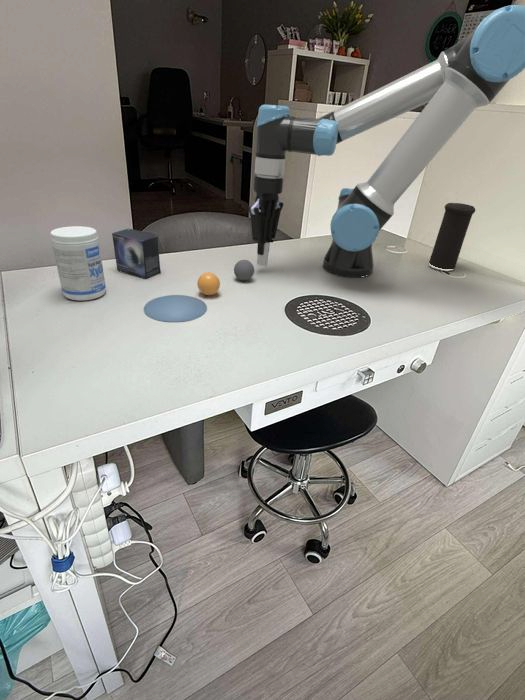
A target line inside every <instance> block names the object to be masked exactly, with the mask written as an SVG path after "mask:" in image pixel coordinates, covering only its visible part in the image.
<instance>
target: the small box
mask: <svg viewBox="0 0 525 700" xmlns="http://www.w3.org/2000/svg"><path fill="white" fill-rule="evenodd" d="M111 236H112V242H113V249H114V257H115V265H116V270H118V272H120V271H121V272H120V273H124V274H128V275H130V276H134V277H137V278H140V279H143V280H147V279H150V278H153V277H155V276H157V275H160V274H161V273H162V271H161V262H160V251H159V250H160V249H159V235H157V234H153V233H150V232H144V231H141V230H137V229H132V228H126V229H122V230H119V231H115V232H112V233H111Z"/></svg>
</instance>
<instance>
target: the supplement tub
mask: <svg viewBox="0 0 525 700" xmlns="http://www.w3.org/2000/svg"><path fill="white" fill-rule="evenodd" d="M50 241H51V245H52V249H53V250H52V251H53V255H54V260H55V264H56V268H57V273H58V278H59V283H60V286H61V291H62V295H63V296H64V297H66V298H67V299H68V300H72V301H89V300H90V301H91V300H94V299H98V298H100V297H102V296H103V295H104V294H105V293H106V292H107V286H106V279H105V278H106V277H105V273H104V267H103V262H102V261H103V259H102V255H101V254H102V253H101V247H100V240H99V235H98V232H97V229H96V228H93V227H89V226H80V225H79V226H74V225H72V226H63V227H62V226H61V227H58V228H54V229H52V230H51V231H50Z"/></svg>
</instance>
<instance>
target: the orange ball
mask: <svg viewBox="0 0 525 700" xmlns="http://www.w3.org/2000/svg"><path fill="white" fill-rule="evenodd" d="M196 284H197V288H198V290H199V292H200V293H201V294H203V295H205V296H212V295H215V294H217V292H218V291H219V290H220V288H221V287H220V286H221V282H220V278H219V277H218V275H216V274H215V273H213V272H204V273H202V274H201V275H200V276H199V277H198V279H197V283H196Z"/></svg>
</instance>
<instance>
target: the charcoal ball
mask: <svg viewBox="0 0 525 700" xmlns="http://www.w3.org/2000/svg"><path fill="white" fill-rule="evenodd" d="M233 273H234V276H235V277H236V278H237V280H240V281H244V282H245V281H248V280H250V279H251V278H253V276H254V273H255V266H254V265H253V263H252V262H251V261H250V260H247V259H240V260H239V261H237V262H236V263H235V265H234V267H233Z"/></svg>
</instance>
